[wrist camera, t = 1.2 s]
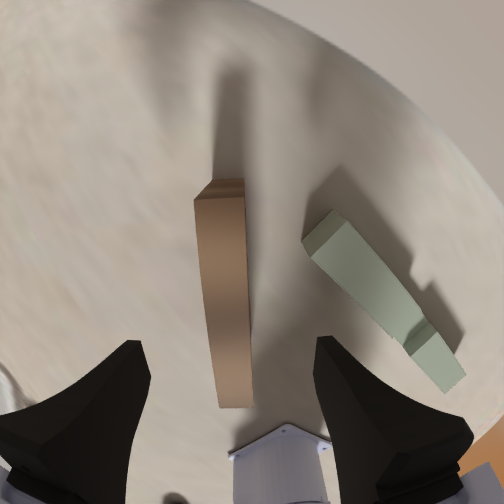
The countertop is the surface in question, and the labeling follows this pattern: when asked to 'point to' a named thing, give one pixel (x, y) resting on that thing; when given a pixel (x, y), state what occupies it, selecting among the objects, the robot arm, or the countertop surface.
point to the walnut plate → (226, 288)
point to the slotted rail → (381, 296)
